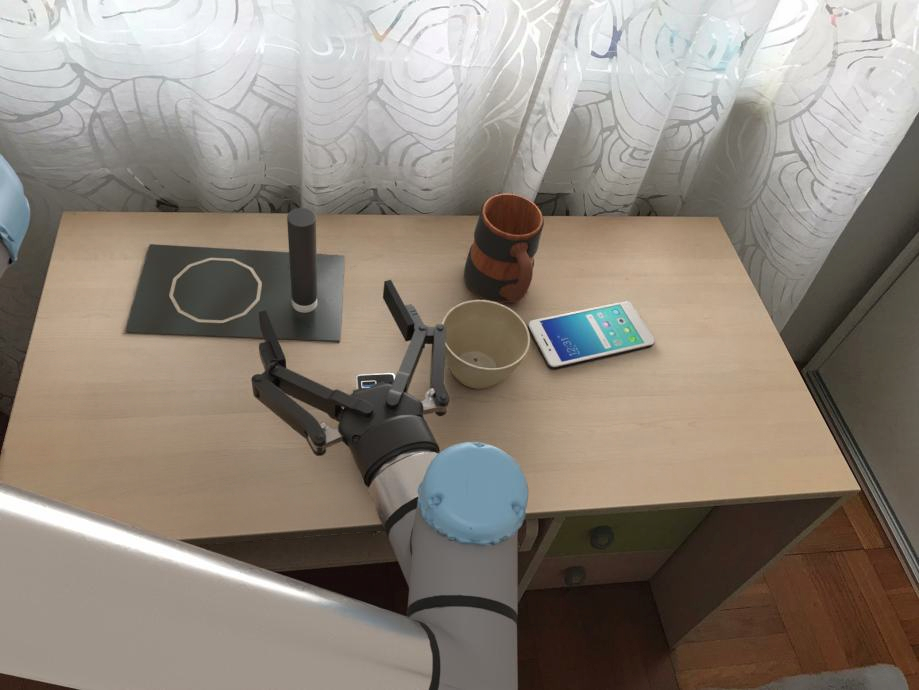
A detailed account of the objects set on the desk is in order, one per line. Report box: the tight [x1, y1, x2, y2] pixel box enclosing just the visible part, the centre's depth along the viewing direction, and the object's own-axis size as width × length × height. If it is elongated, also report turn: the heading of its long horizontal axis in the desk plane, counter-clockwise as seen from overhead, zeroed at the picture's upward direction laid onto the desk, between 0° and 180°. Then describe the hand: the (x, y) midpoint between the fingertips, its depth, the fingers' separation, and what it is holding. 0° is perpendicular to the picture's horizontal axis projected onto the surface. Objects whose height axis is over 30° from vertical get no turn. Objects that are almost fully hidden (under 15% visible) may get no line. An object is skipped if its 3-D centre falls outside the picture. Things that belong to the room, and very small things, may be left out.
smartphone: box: [527, 300, 655, 370], centre depth 93 cm, size 7×1×15 cm
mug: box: [463, 193, 545, 304], centre depth 92 cm, size 9×12×12 cm
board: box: [124, 243, 346, 343], centre depth 90 cm, size 24×14×1 cm, turn 93°
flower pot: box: [441, 299, 531, 390], centre depth 85 cm, size 10×10×7 cm
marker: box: [286, 207, 317, 313], centre depth 85 cm, size 3×3×14 cm
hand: (326, 303), depth 79 cm, fingers open, 13 cm apart
